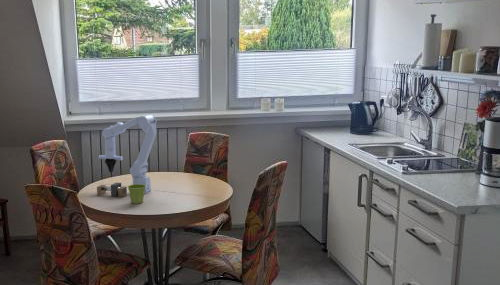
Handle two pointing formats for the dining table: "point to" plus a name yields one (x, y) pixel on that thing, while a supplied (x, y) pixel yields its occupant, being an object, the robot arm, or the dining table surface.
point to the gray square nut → (115, 189)
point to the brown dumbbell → (103, 188)
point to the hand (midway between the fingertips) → (111, 171)
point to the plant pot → (136, 193)
